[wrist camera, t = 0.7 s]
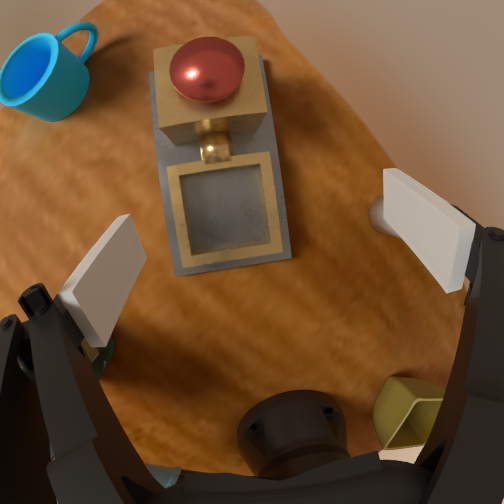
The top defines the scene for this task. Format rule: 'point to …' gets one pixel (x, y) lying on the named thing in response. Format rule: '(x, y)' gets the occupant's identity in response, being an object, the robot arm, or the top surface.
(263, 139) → the red push button box
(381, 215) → the white rounded cylinder
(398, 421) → the flower pot
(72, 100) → the mug
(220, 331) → the top surface
